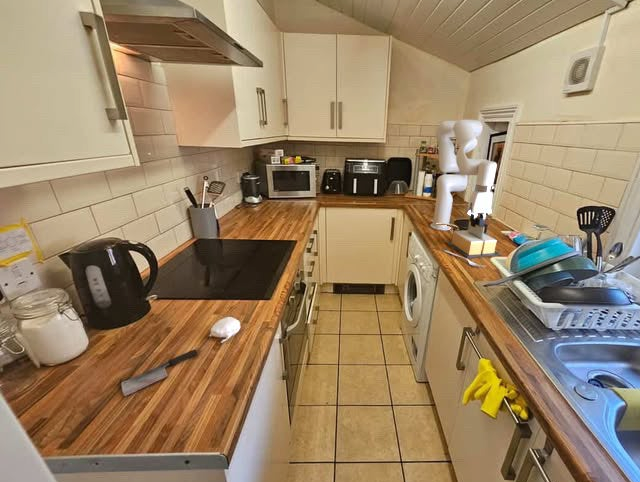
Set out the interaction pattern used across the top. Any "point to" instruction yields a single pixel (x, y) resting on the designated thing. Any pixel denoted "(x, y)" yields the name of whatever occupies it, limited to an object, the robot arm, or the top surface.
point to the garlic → (225, 328)
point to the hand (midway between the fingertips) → (476, 225)
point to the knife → (477, 227)
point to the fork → (466, 259)
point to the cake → (473, 245)
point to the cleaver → (151, 375)
